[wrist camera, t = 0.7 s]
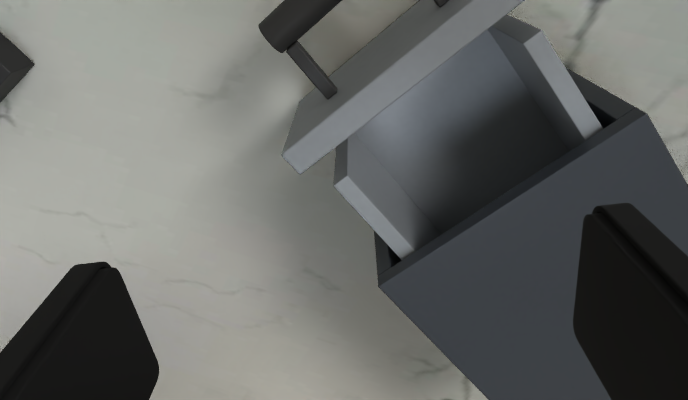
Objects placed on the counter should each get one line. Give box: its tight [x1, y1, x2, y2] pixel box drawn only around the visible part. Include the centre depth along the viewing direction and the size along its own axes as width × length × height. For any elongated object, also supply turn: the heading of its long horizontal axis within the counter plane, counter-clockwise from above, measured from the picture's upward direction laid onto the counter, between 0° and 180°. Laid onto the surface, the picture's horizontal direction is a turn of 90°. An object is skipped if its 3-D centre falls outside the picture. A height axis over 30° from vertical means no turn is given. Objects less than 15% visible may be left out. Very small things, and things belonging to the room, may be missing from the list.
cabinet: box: [374, 68, 688, 400], centre depth 27 cm, size 15×13×10 cm
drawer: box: [259, 0, 603, 260], centre depth 24 cm, size 18×11×8 cm, turn 40°
